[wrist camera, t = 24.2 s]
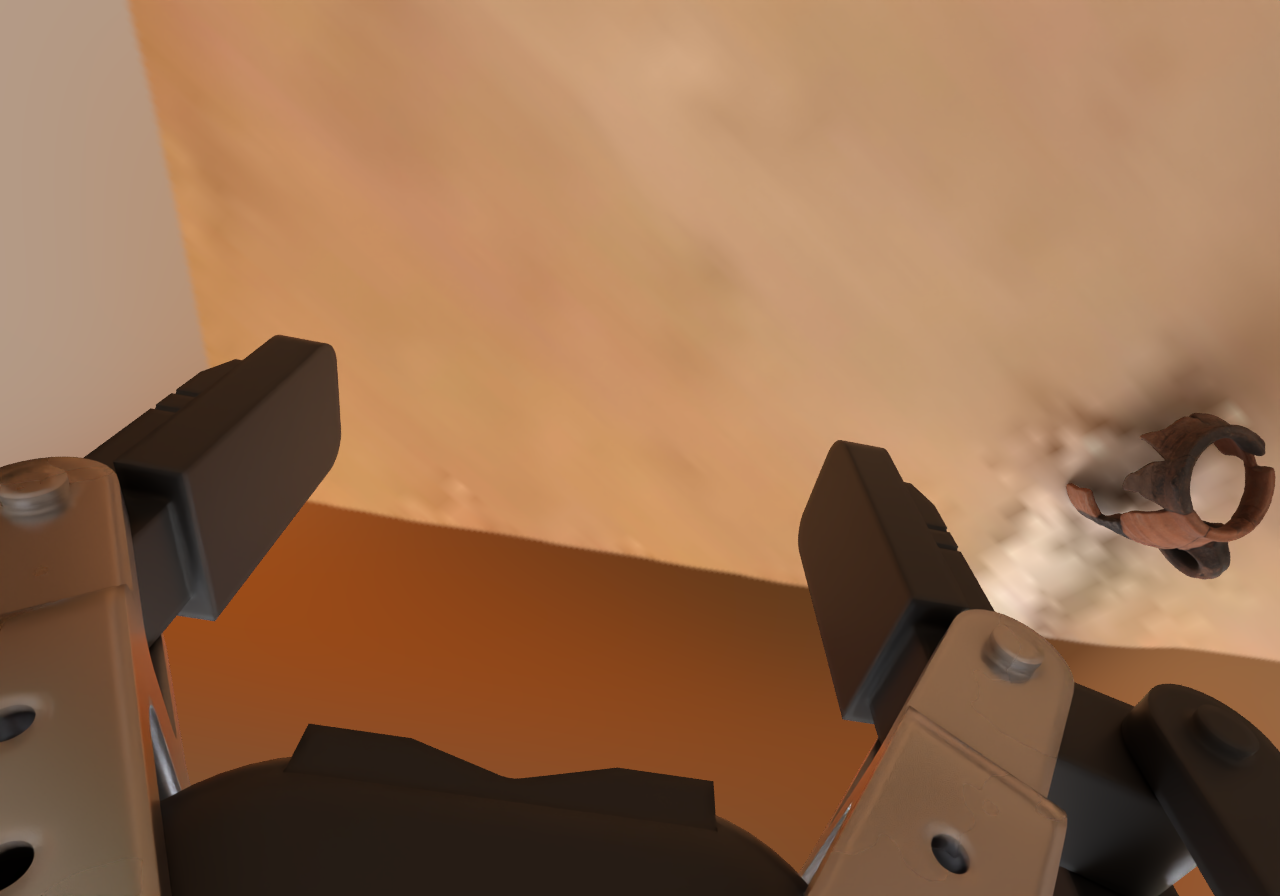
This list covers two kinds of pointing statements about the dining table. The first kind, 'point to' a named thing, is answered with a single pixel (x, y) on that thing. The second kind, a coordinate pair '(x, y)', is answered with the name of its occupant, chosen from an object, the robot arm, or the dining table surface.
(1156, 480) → the brown curved piece
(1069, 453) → the dining table surface
